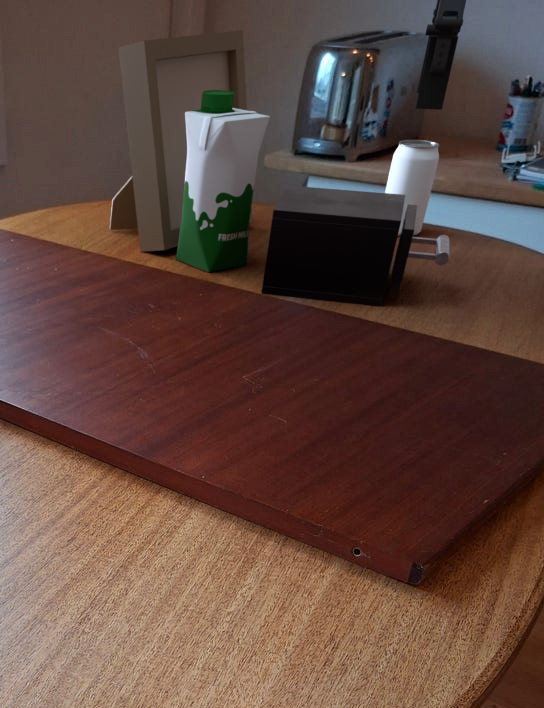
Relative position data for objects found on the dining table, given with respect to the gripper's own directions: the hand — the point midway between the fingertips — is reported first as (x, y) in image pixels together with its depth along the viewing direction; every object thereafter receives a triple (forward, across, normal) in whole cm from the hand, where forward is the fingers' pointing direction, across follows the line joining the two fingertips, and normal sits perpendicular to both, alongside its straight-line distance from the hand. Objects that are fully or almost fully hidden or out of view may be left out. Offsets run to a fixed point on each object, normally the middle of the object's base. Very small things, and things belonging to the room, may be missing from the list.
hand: (428, 101), depth 100 cm
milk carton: (+21, -4, -24) cm, 32 cm away
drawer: (+20, +1, -3) cm, 20 cm away
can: (+21, -30, +1) cm, 36 cm away
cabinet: (+21, 0, -8) cm, 22 cm away
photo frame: (+20, -17, -33) cm, 42 cm away
